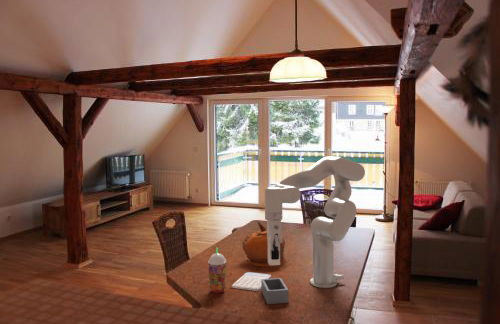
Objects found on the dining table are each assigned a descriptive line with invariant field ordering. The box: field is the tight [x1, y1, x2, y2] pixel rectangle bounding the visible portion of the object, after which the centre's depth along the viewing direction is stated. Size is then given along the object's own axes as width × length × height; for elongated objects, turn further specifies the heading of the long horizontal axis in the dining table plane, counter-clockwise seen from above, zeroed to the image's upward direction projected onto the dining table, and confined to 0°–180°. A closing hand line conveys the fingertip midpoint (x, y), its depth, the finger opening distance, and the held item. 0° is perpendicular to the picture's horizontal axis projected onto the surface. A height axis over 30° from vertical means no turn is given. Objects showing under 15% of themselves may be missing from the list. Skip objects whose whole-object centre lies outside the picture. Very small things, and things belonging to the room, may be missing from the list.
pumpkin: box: [241, 220, 287, 268], centre depth 220 cm, size 22×25×23 cm
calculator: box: [231, 271, 272, 292], centre depth 187 cm, size 13×20×2 cm, turn 159°
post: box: [268, 237, 281, 266], centre depth 168 cm, size 4×4×12 cm
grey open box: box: [261, 277, 290, 305], centre depth 169 cm, size 9×14×6 cm, turn 8°
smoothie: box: [207, 247, 227, 294], centre depth 176 cm, size 8×8×20 cm
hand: (273, 257), depth 168 cm, fingers closed on post, 4 cm apart
